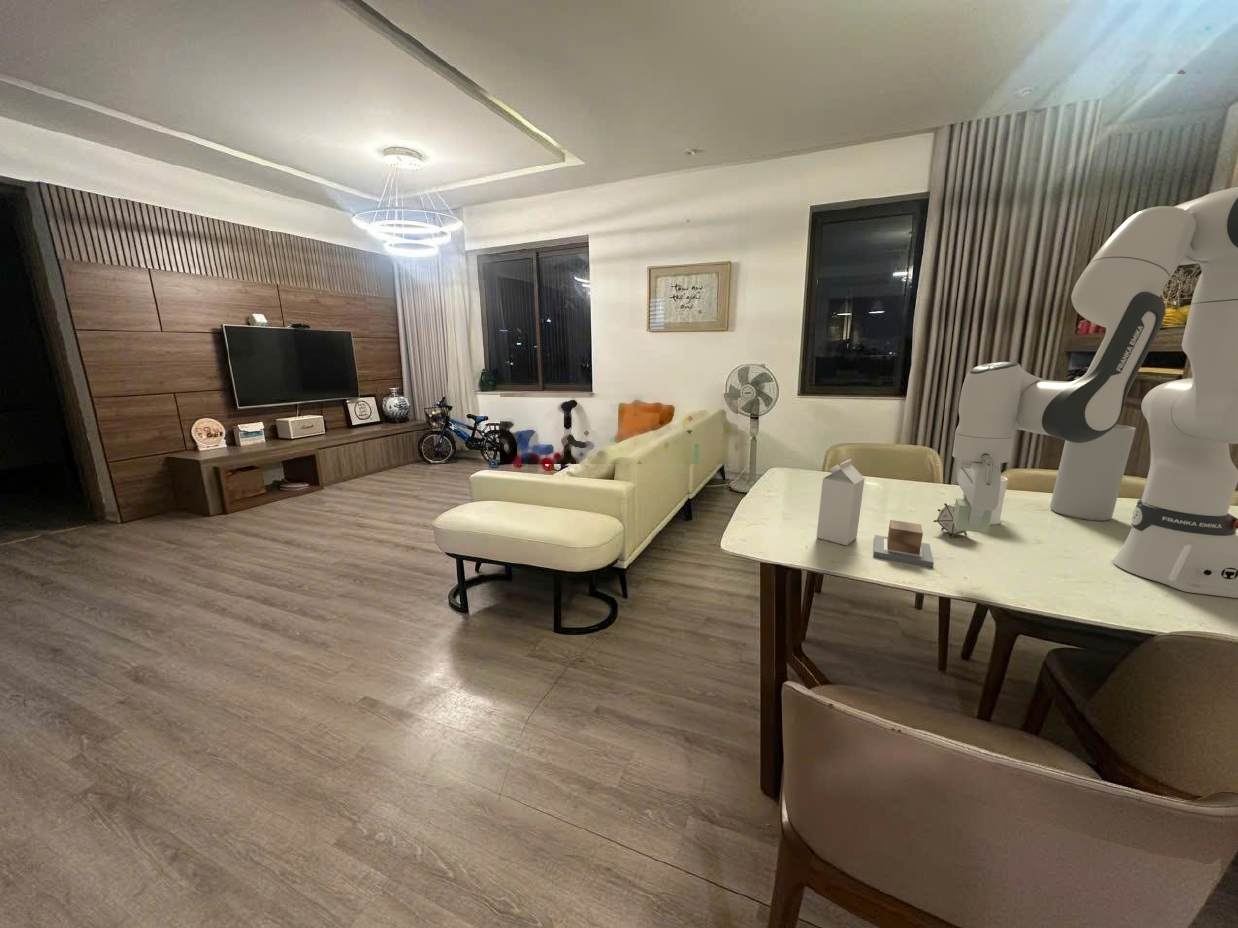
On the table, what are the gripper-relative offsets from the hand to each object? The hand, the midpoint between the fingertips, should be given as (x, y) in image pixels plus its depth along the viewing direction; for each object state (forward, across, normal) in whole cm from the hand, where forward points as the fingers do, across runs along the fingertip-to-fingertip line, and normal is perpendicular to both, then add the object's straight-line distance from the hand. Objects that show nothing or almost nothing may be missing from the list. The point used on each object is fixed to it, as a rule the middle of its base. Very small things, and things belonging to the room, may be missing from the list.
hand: (971, 518), depth 92 cm
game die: (+12, +25, -1) cm, 28 cm away
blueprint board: (+12, +6, +11) cm, 17 cm away
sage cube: (+2, 0, 0) cm, 2 cm away
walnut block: (+10, +6, +10) cm, 16 cm away
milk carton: (+11, +8, +24) cm, 28 cm away
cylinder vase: (+14, +61, -34) cm, 71 cm away
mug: (+13, +43, -10) cm, 46 cm away
